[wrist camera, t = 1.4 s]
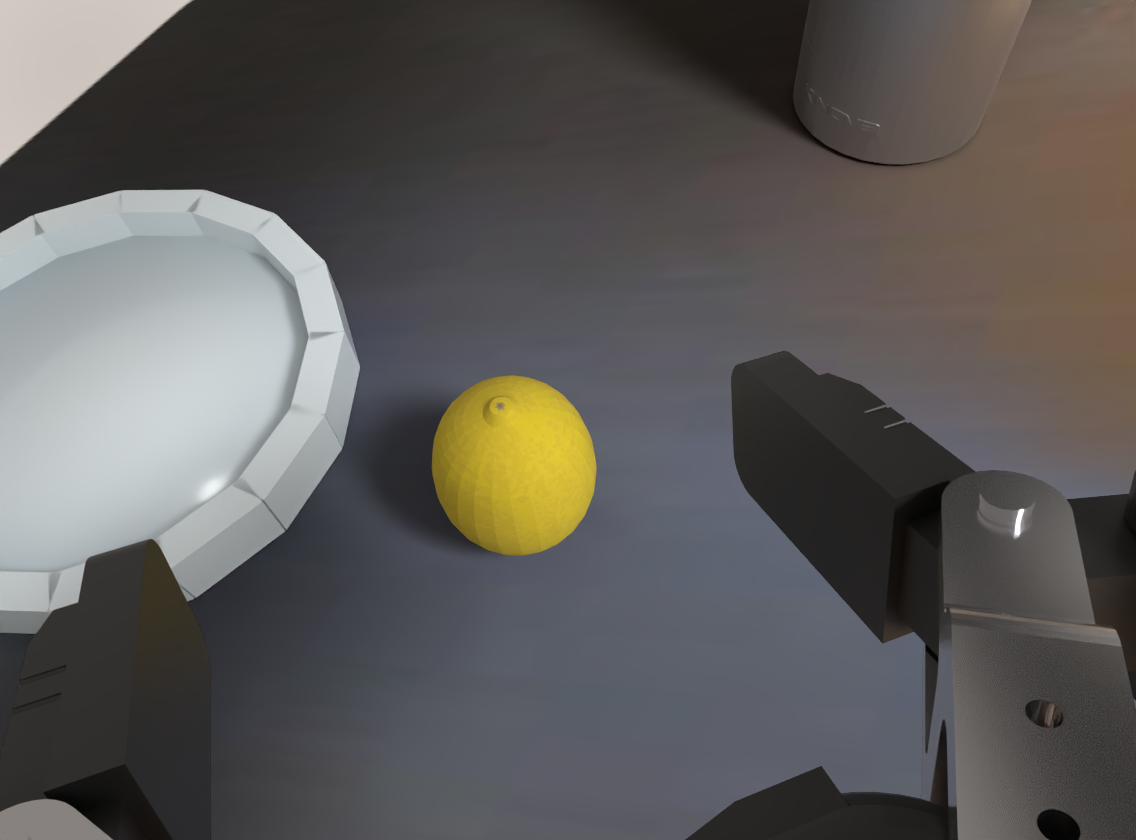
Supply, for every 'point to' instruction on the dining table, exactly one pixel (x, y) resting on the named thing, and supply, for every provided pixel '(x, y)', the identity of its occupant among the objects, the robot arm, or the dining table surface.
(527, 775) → the dining table surface
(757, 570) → the dining table surface
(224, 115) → the dining table surface
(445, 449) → the lemon
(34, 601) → the dish
